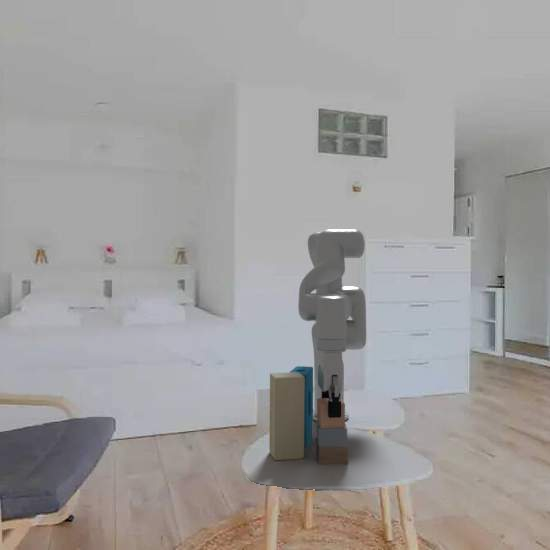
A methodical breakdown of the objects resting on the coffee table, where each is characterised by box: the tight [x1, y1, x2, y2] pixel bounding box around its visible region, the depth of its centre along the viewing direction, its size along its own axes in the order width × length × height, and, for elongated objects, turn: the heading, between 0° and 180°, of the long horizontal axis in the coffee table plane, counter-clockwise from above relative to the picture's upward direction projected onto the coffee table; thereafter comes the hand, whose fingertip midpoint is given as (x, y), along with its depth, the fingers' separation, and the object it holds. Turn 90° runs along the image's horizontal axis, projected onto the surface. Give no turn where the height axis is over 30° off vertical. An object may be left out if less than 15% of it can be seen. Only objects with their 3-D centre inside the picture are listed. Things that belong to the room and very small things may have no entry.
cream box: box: [268, 372, 305, 461], centre depth 140 cm, size 8×7×21 cm
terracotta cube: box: [316, 398, 346, 428], centre depth 137 cm, size 6×6×6 cm
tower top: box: [316, 421, 348, 447], centre depth 137 cm, size 7×7×4 cm
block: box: [288, 365, 314, 448], centre depth 150 cm, size 12×5×20 cm, turn 165°
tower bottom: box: [315, 437, 349, 466], centre depth 137 cm, size 7×7×4 cm
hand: (331, 411), depth 137 cm, fingers open, 9 cm apart
